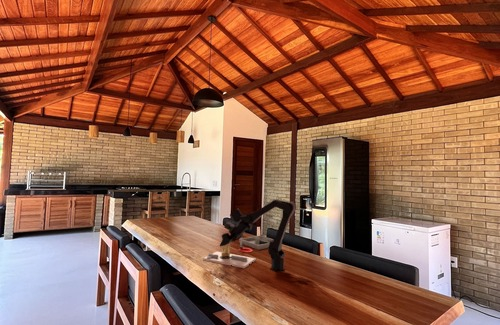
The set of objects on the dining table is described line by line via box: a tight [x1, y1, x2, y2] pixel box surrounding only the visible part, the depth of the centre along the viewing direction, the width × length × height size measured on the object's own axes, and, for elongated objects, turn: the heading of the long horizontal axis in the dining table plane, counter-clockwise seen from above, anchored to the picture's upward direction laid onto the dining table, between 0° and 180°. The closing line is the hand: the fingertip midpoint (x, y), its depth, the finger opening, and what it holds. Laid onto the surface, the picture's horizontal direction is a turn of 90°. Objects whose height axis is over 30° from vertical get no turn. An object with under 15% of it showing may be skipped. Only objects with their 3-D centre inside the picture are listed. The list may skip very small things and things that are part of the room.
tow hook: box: [237, 237, 253, 254], centre depth 187 cm, size 8×13×9 cm
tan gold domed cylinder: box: [221, 237, 231, 258], centre depth 167 cm, size 5×5×13 cm
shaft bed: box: [202, 251, 257, 269], centre depth 166 cm, size 28×16×3 cm, turn 65°
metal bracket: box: [253, 235, 269, 245], centre depth 207 cm, size 14×6×15 cm
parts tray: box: [238, 235, 275, 251], centre depth 206 cm, size 22×22×3 cm
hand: (223, 244), depth 168 cm, fingers open, 9 cm apart
